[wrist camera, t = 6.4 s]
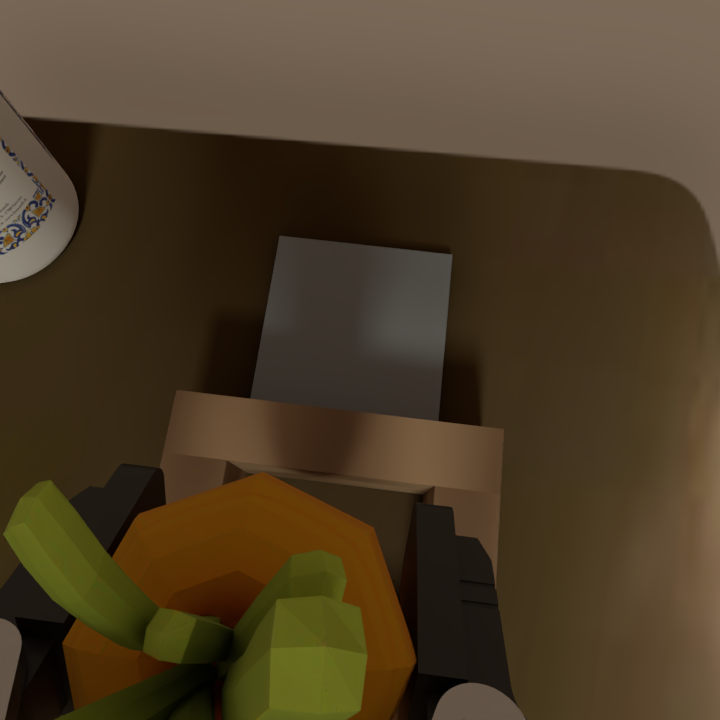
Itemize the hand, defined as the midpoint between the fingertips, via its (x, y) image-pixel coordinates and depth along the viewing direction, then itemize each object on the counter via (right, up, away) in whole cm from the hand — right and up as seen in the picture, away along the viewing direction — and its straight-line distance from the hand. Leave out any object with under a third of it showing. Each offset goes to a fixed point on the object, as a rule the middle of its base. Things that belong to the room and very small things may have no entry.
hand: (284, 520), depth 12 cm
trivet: (+1, +4, +15) cm, 16 cm away
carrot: (0, -4, +6) cm, 8 cm away
